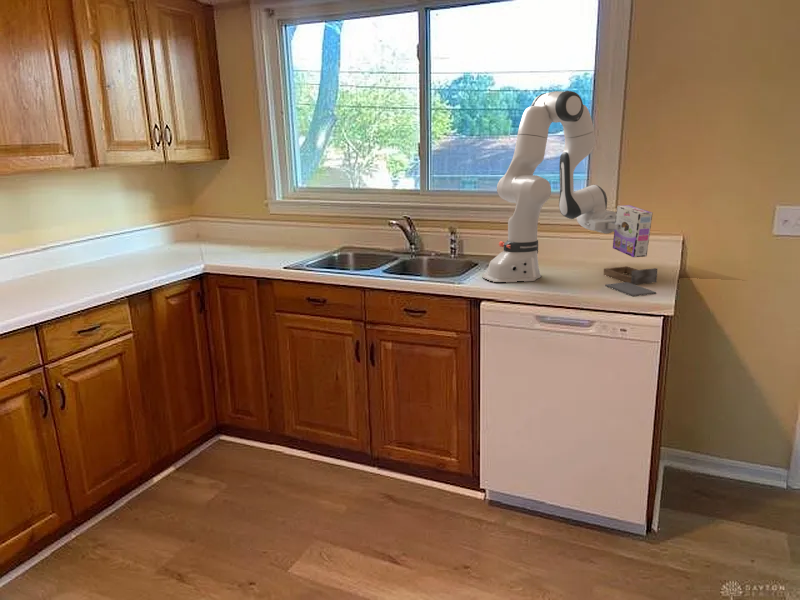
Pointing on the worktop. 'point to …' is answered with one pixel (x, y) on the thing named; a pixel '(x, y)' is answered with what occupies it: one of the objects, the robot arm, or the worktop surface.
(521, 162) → the robot arm
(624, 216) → the candy box
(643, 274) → the holder
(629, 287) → the mat
